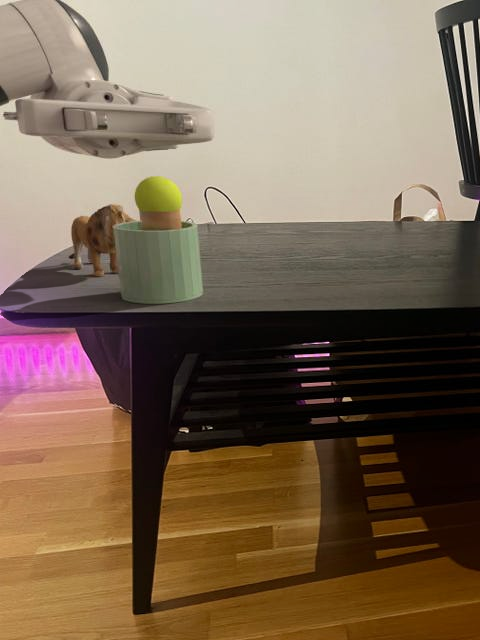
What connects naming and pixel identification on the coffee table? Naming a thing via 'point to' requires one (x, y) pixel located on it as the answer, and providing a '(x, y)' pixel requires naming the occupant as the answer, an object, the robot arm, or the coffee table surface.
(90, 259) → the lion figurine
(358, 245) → the coffee table surface
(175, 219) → the ball peg
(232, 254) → the coffee table surface
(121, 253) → the green faceted pot
